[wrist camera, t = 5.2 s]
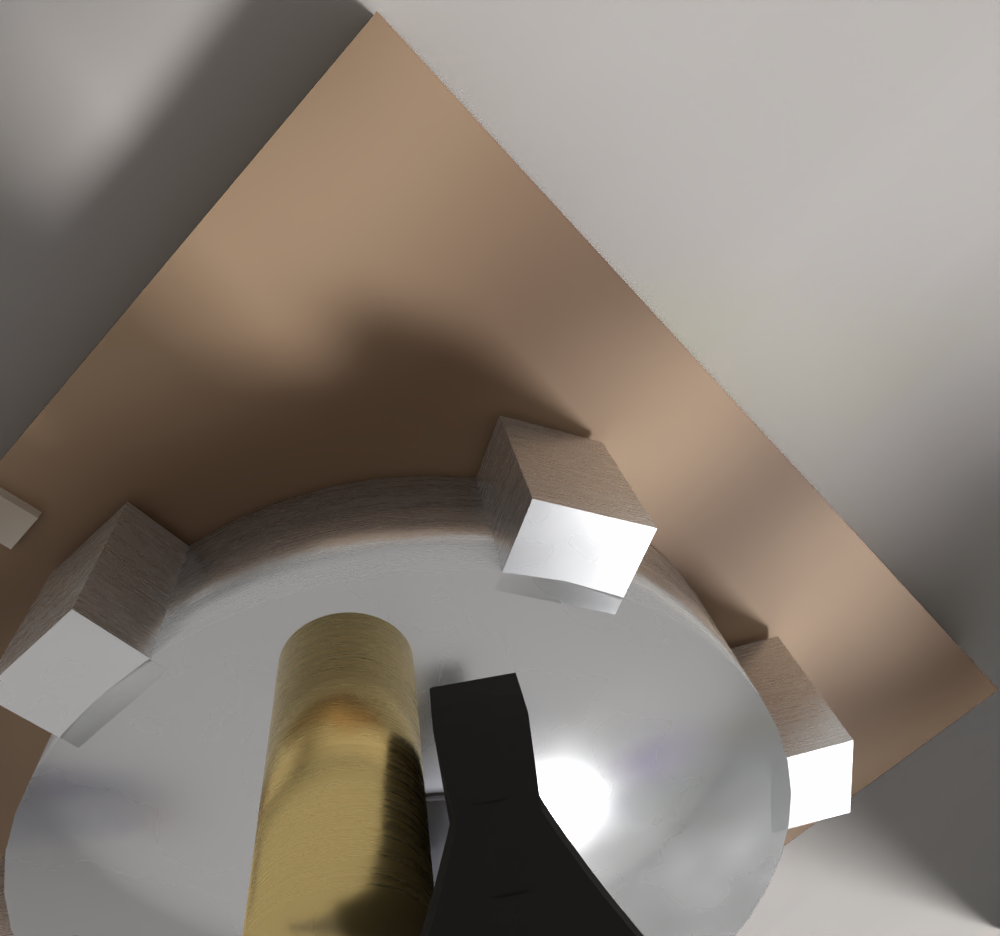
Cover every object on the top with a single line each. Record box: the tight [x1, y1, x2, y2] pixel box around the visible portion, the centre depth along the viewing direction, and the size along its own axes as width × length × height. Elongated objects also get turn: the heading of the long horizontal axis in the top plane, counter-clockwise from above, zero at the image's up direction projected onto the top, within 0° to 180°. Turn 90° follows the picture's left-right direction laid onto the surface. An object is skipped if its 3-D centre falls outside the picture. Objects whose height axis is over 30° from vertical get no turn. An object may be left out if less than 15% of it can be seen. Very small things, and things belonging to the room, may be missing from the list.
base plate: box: [0, 12, 998, 861], centre depth 18 cm, size 20×20×2 cm
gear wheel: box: [0, 415, 853, 936], centre depth 14 cm, size 15×16×7 cm
